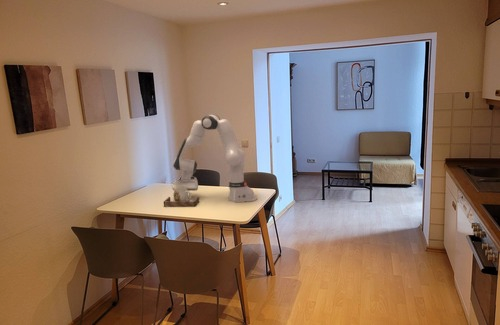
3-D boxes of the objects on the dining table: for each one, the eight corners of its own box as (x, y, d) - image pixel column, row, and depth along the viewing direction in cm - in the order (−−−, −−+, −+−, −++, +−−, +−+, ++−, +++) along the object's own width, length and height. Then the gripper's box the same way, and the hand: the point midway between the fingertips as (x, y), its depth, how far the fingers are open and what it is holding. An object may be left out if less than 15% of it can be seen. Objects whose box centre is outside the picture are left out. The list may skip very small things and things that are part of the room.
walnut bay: (199, 201, 296) (199, 196, 295) (195, 206, 283) (194, 201, 282) (169, 201, 299) (168, 196, 298) (163, 206, 286) (163, 201, 285)
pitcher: (187, 207, 283) (186, 189, 280) (168, 204, 291) (167, 187, 289) (196, 203, 292) (195, 185, 289) (178, 200, 301) (176, 183, 298)
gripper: (172, 177, 303) (169, 192, 295) (197, 177, 301) (195, 192, 293) (174, 181, 308) (172, 196, 301) (199, 181, 306) (197, 196, 298)
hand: (183, 194), depth 297 cm, fingers closed, pressing on pitcher
